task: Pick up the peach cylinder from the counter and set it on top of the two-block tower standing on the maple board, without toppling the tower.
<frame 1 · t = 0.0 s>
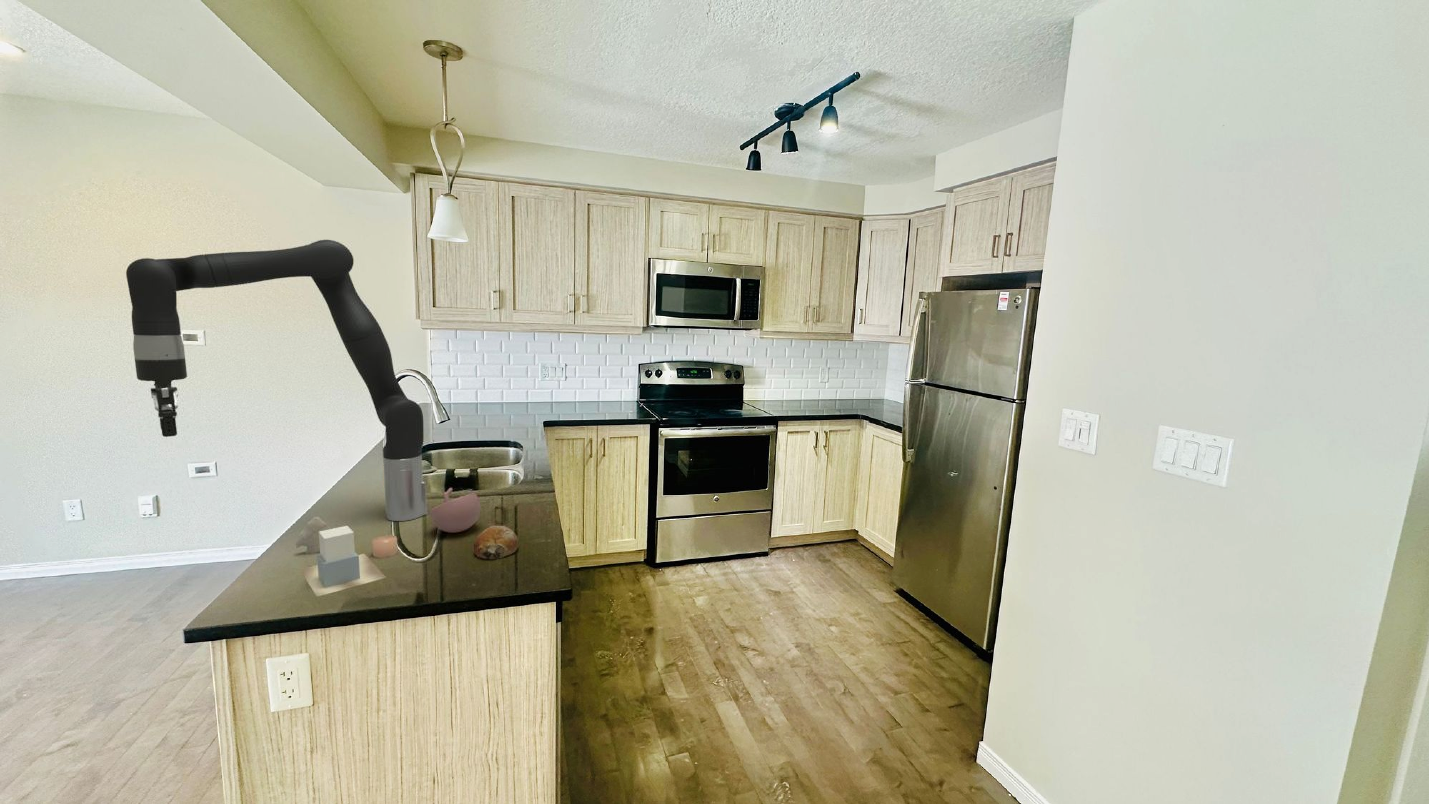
hand: (168, 432, 118), 29 cm above the table, tool pointing down, fingers open, 8 cm apart
board: (343, 580, 117), on the table
mortar and pestle: (456, 531, 146), on the table
arrowhead: (318, 558, 127), on the table
bread roll: (496, 552, 134), on the table
tower lower: (339, 578, 115), point 1 cm above the table, touching board, tower upper
peach cylinder: (385, 559, 128), on the table
tower upper: (337, 555, 114), point 6 cm above the table, touching tower lower
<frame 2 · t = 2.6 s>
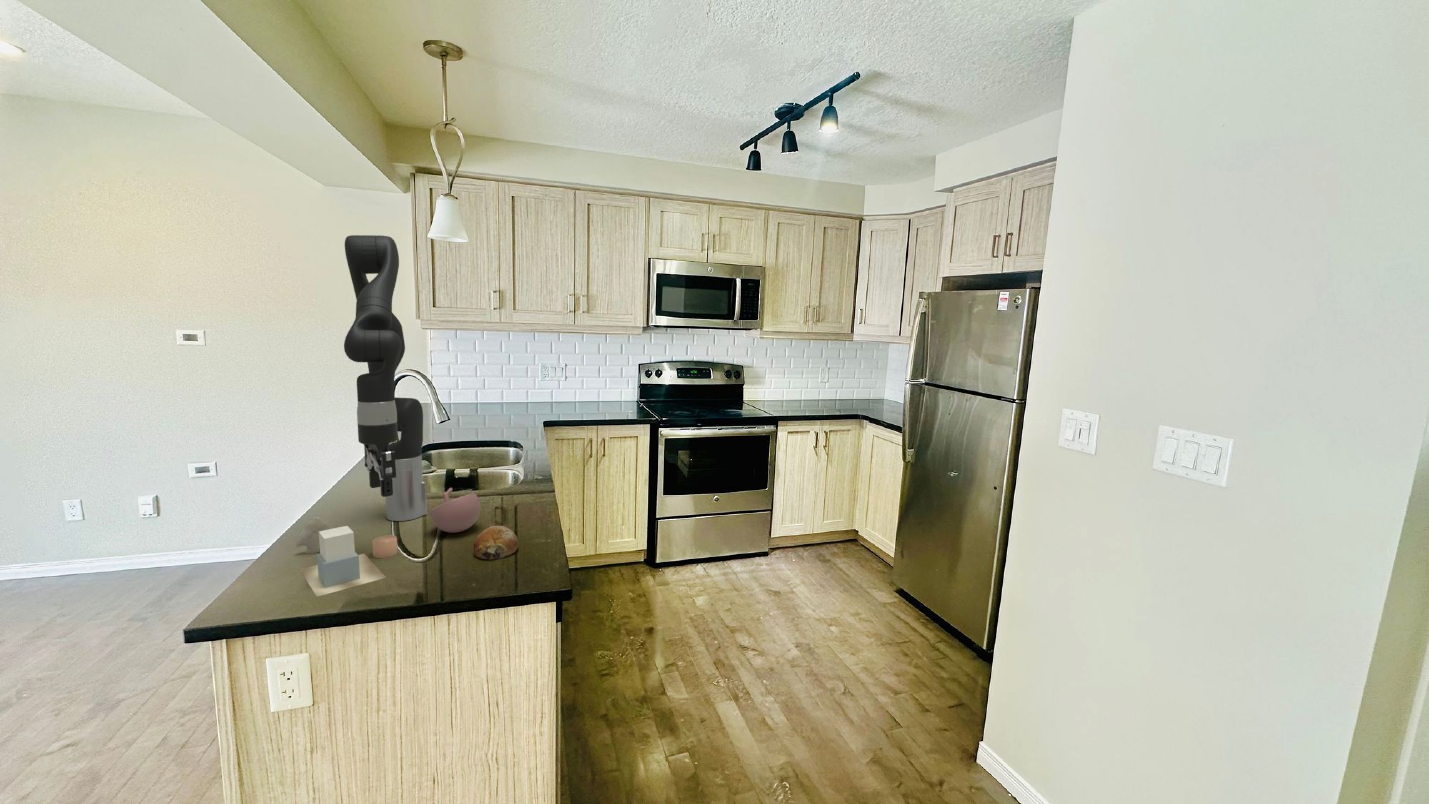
hand: (381, 491, 125), 16 cm above the table, tool pointing down, fingers open, 8 cm apart
nothing on the table moved.
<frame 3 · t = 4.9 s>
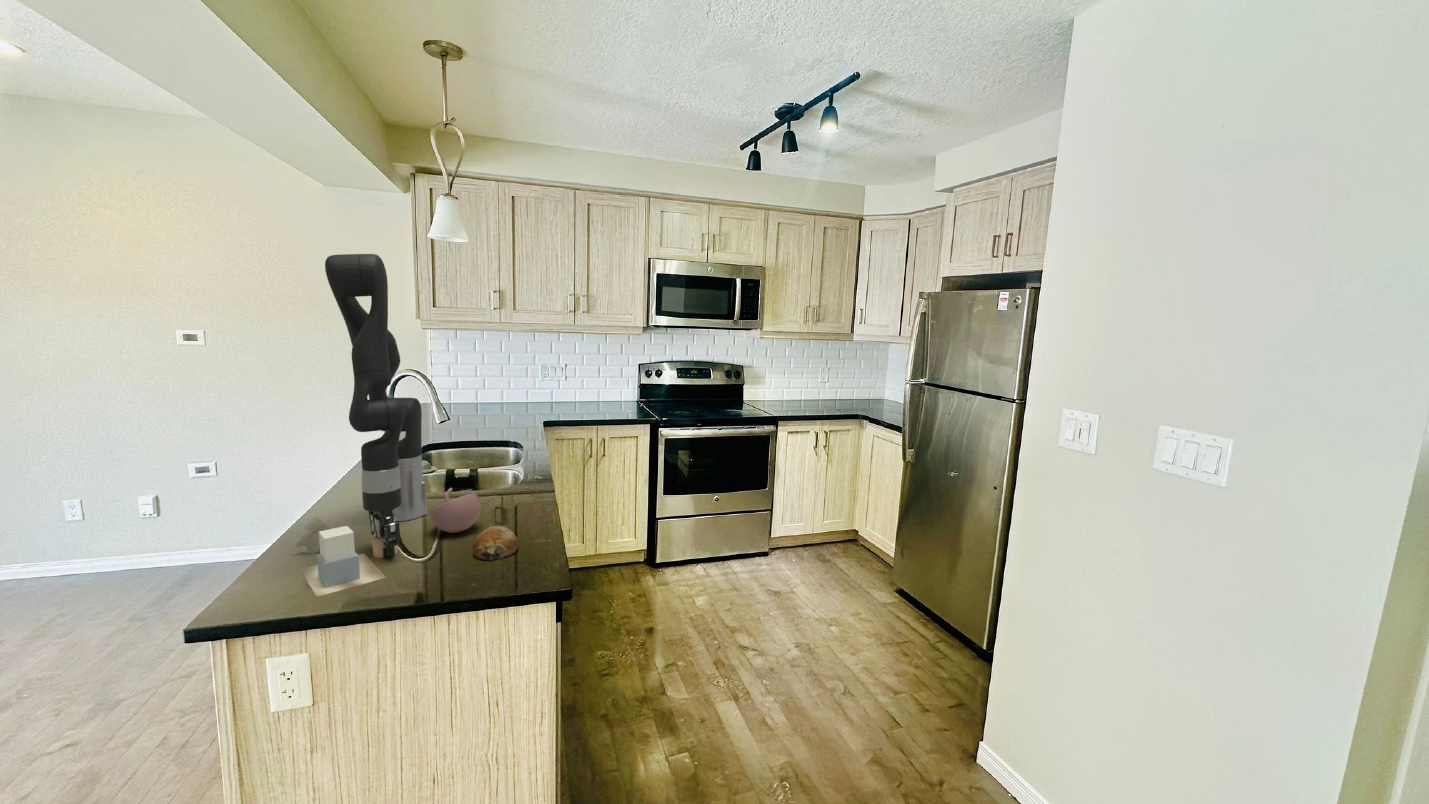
hand: (385, 558, 127), 0 cm above the table, tool pointing down, fingers closed on peach cylinder, 4 cm apart
peach cylinder: (385, 559, 128), on the table, touching gripper
everything else where it was.
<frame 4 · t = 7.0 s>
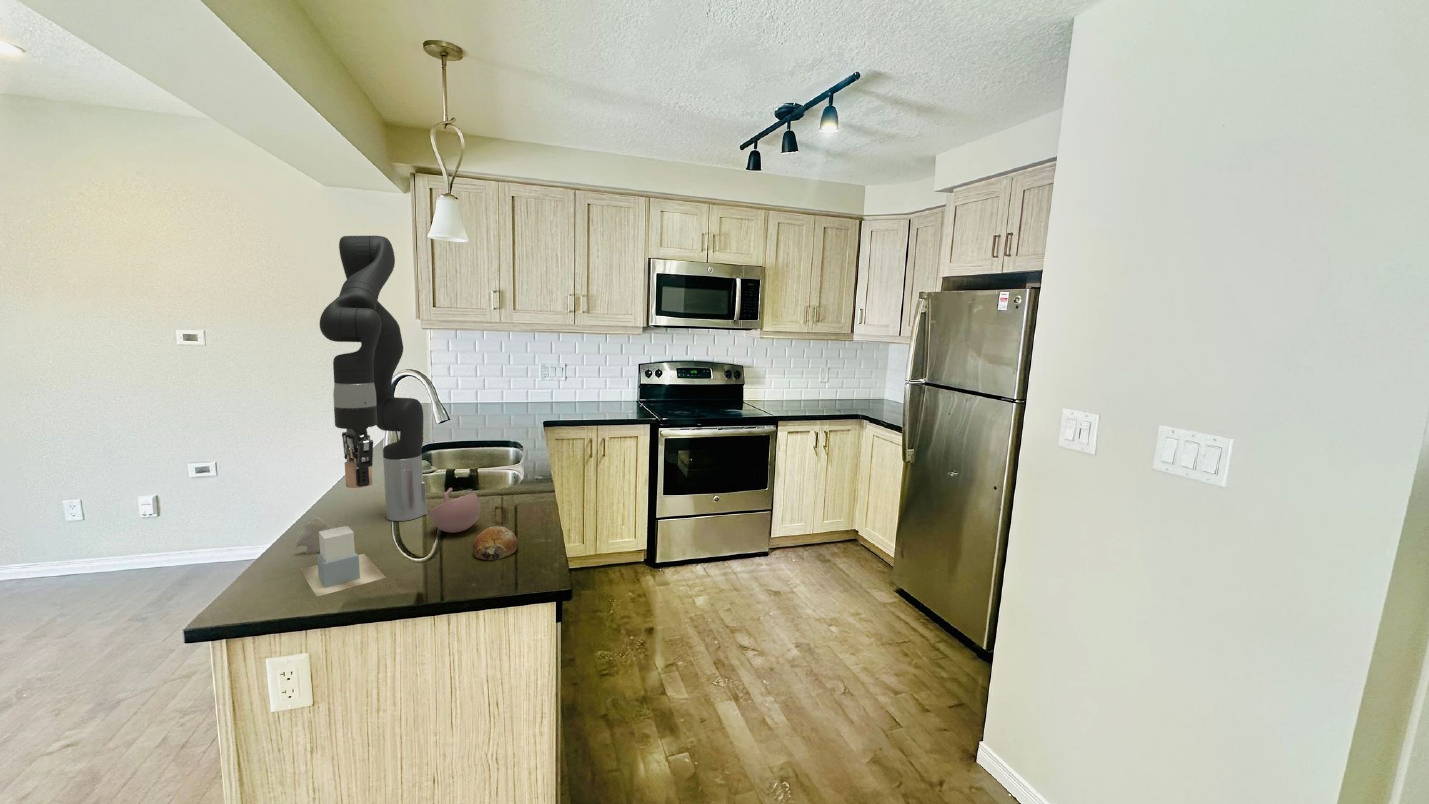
hand: (359, 482, 118), 20 cm above the table, tool pointing down, fingers closed on peach cylinder, 4 cm apart
peach cylinder: (359, 484, 118), point 20 cm above the table, touching gripper
everything else where it was.
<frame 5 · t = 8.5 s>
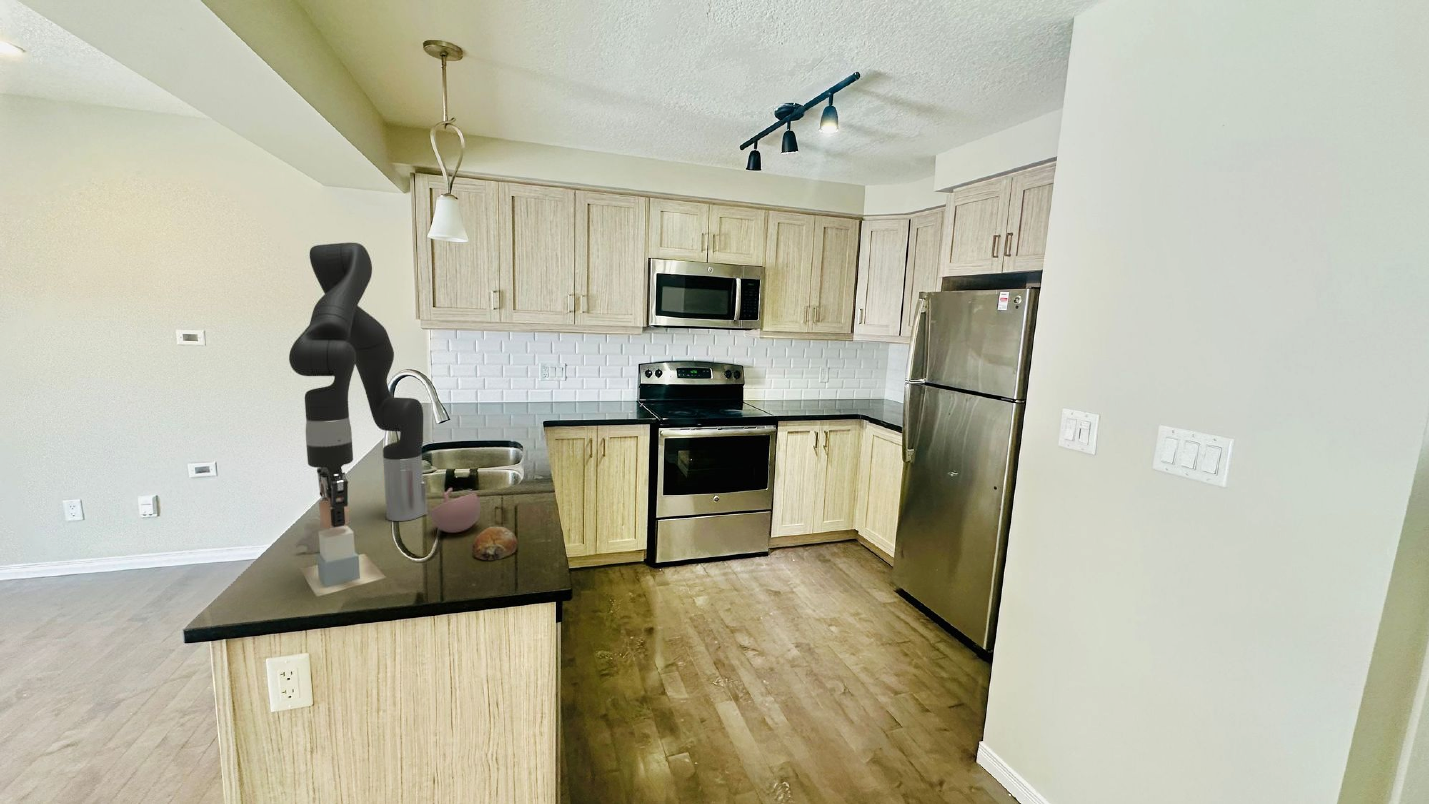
hand: (335, 521, 113), 14 cm above the table, tool pointing down, fingers closed on peach cylinder, 4 cm apart
peach cylinder: (334, 523, 113), point 13 cm above the table, touching gripper
everything else where it was.
when the fingers open (13 cm above the table, at t = 9.4 s): peach cylinder drops 1 cm, resting on tower upper.
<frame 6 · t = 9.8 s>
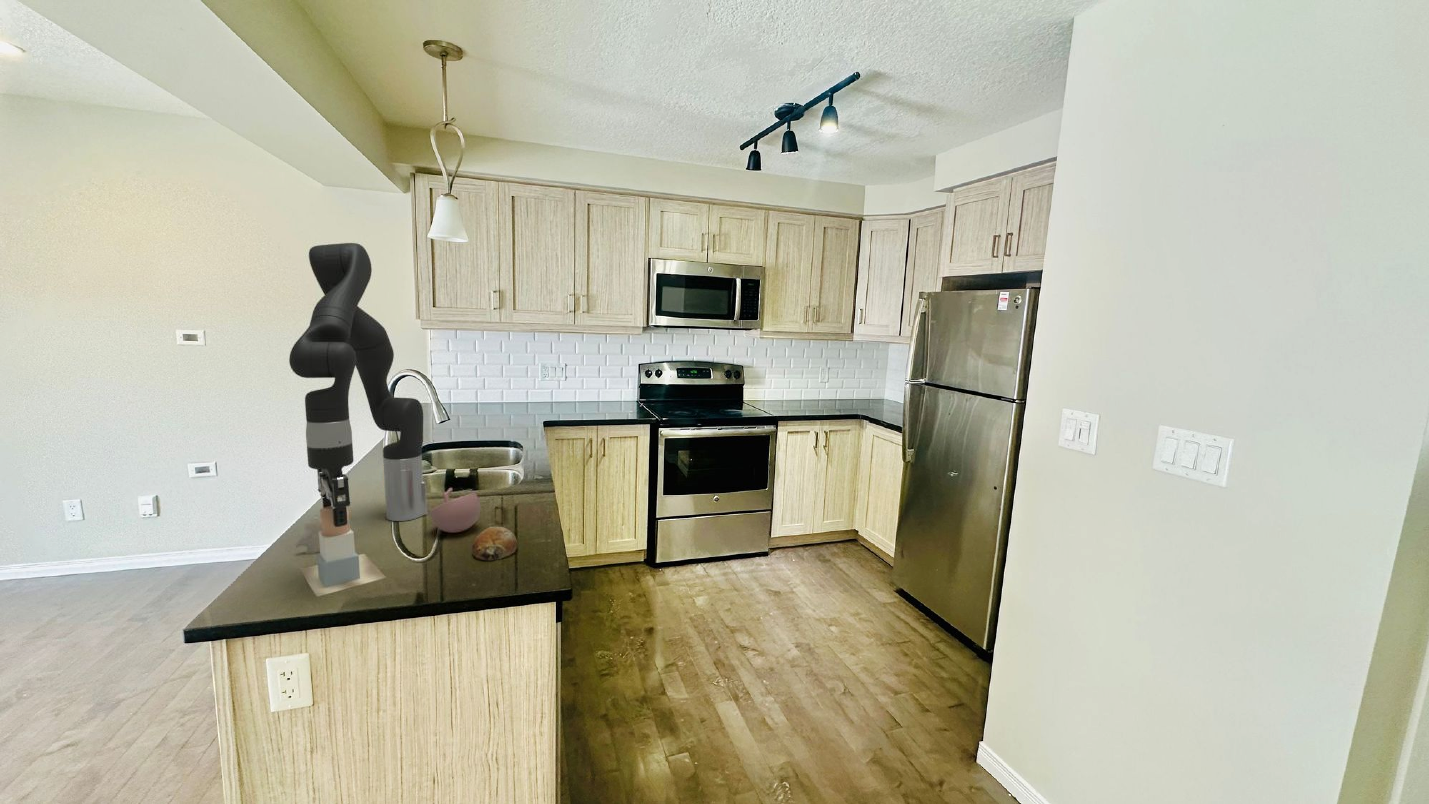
hand: (335, 519, 113), 14 cm above the table, tool pointing down, fingers open, 8 cm apart
peach cylinder: (335, 532, 114), point 11 cm above the table, touching tower upper
tower upper: (337, 555, 114), point 6 cm above the table, touching peach cylinder, tower lower
everything else where it was.
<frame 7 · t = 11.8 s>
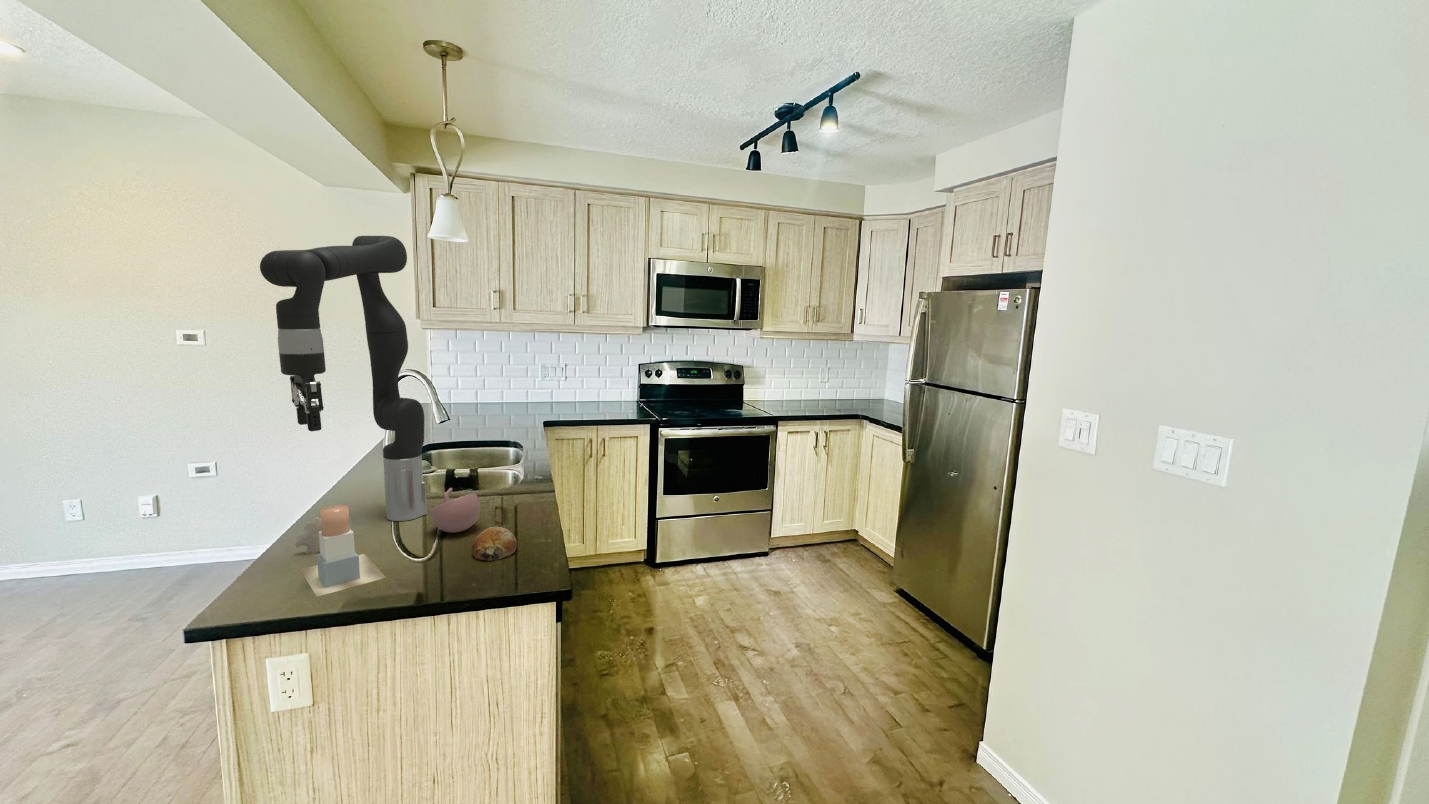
hand: (309, 427, 118), 32 cm above the table, tool pointing down, fingers open, 8 cm apart
nothing on the table moved.
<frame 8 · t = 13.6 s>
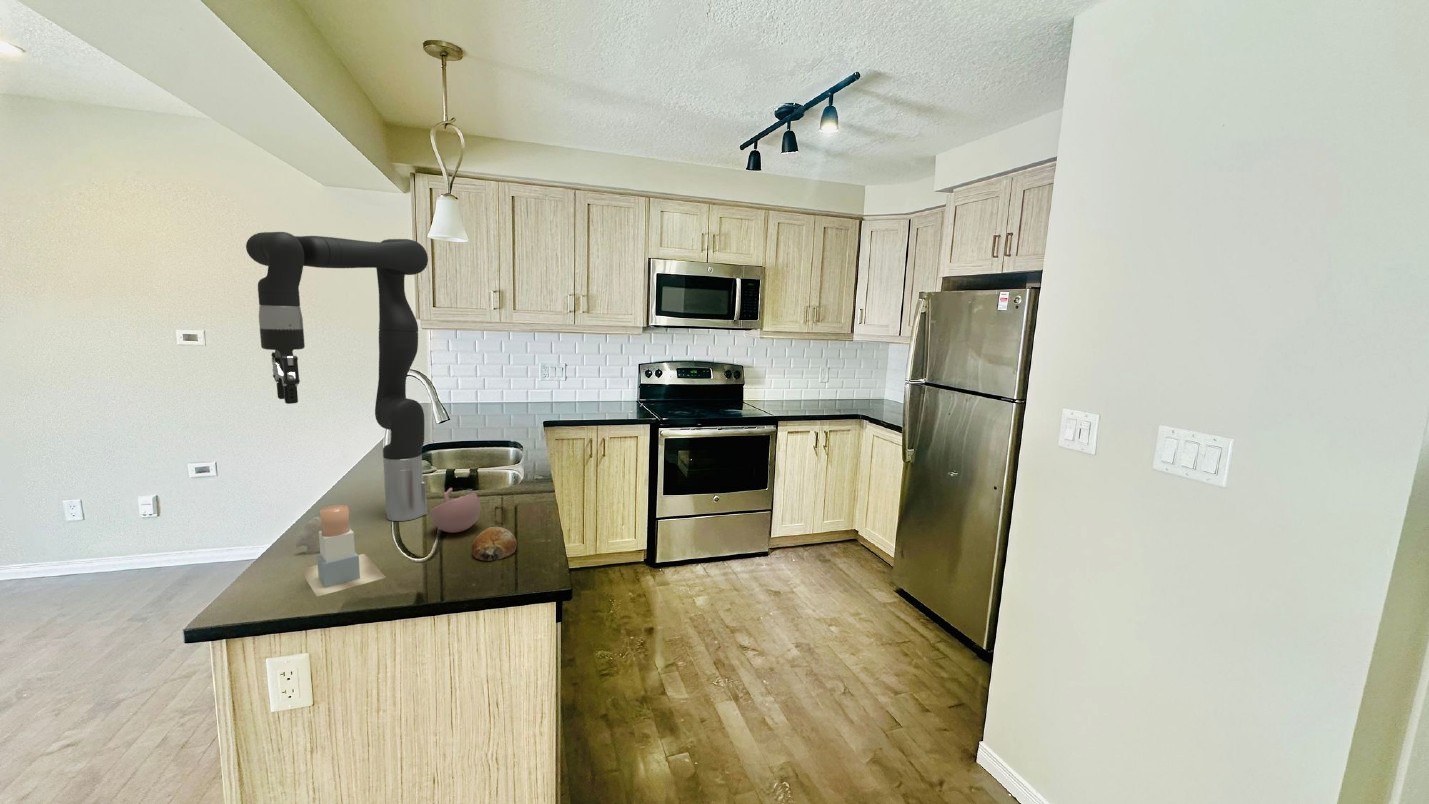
hand: (287, 400, 123), 36 cm above the table, tool pointing down, fingers open, 8 cm apart
nothing on the table moved.
at the end: peach cylinder 0.0 cm off-centre on the tower lower, point 10.0 cm above the tower lower's base; tower upper 0.0 cm off-centre on the tower lower, point 5.0 cm above the tower lower's base; peach cylinder tilted 0° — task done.
